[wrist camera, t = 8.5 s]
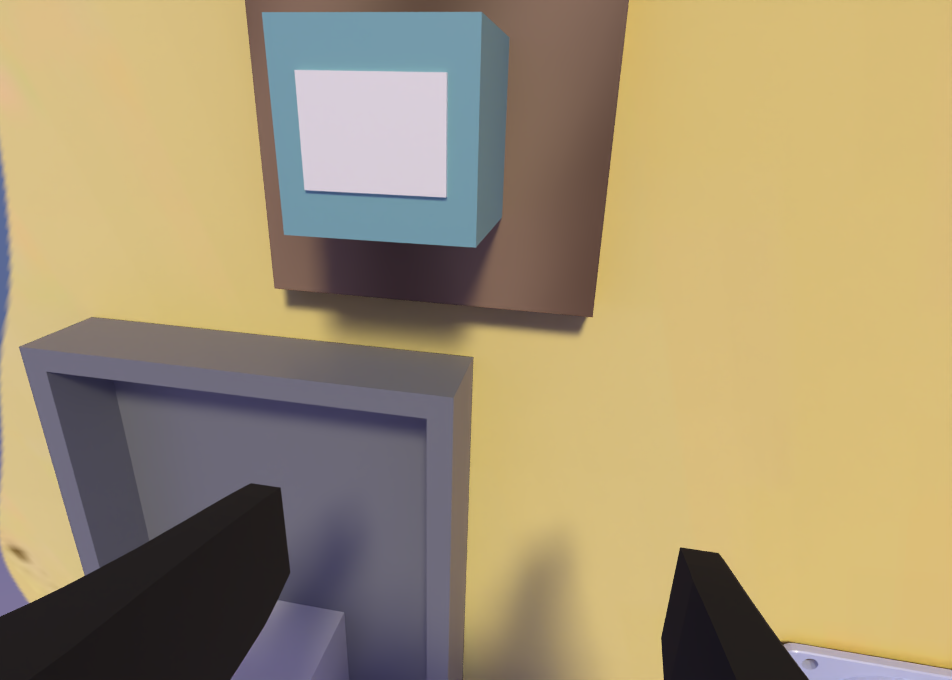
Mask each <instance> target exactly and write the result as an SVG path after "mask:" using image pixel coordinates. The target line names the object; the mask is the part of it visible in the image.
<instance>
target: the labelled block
mask: <svg viewBox="0 0 952 680" xmlns="http://www.w3.org/2000/svg"><path fill="white" fill-rule="evenodd" d="M262 19H263V29H264V39H265V49H266V59H267V69H268V79H269V89H270V99H271V109H272V119H273V129H274V139H275V149H276V159H277V169H278V179H279V189H280V199H281V209H282V219H283V229H284V235H293V236H308V237H323V238H338V239H353V240H368V241H383V242H398V243H413V244H428V245H443V246H459V247H474V248H476V247H477V246H478V245H479V243H480V242H481V241H482V240H483V239H484V238H485V237H486V235H487V234H488V233H489V232H490V231H491V230H492V228H493V227H494V226H495V225H496V224H497V223H498V221H499V220H500V219H501V218H502V208H503V184H504V159H505V135H506V111H507V87H508V63H509V39H510V38H509V37H508V36H507V35H506V34H505V33H504V32H503V31H502V30H501V29H500V28H499V27H498V26H497V25H495V24H494V23H493V22H492V21H491V20H490V19H489V18H488V17H487V16H486V15H485V14H484V13H482V12H262Z"/></svg>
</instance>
